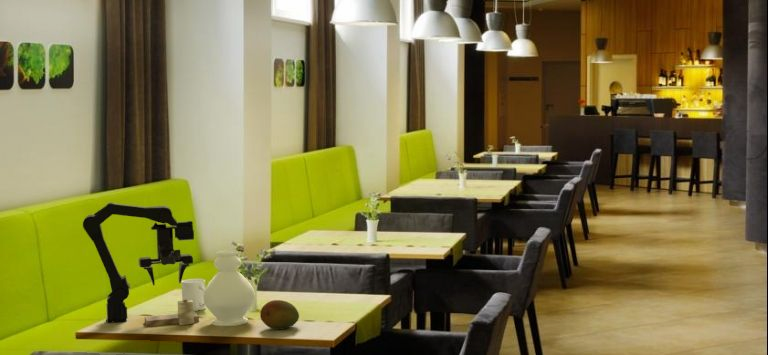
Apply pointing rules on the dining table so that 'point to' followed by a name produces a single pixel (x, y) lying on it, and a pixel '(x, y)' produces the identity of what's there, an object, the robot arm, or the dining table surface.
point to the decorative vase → (228, 291)
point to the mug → (194, 292)
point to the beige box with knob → (185, 312)
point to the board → (165, 319)
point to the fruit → (279, 314)
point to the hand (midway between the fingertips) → (166, 284)
